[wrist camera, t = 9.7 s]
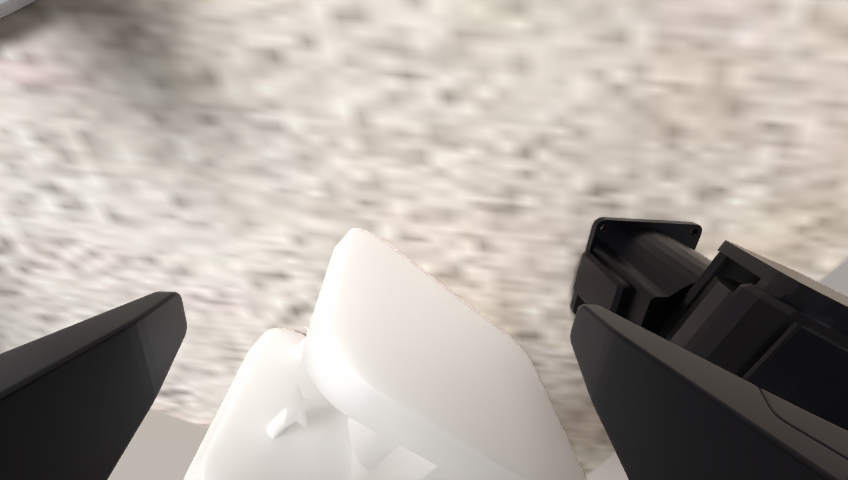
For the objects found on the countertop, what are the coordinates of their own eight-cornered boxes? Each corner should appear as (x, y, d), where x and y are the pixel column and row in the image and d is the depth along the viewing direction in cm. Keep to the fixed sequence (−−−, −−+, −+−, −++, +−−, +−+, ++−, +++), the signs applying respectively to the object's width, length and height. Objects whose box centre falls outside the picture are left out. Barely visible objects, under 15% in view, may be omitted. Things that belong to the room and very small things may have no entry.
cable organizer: (534, 346, 26) (628, 534, 16) (429, 435, 29) (450, 646, 19) (357, 210, 22) (322, 350, 11) (252, 332, 24) (143, 538, 14)
